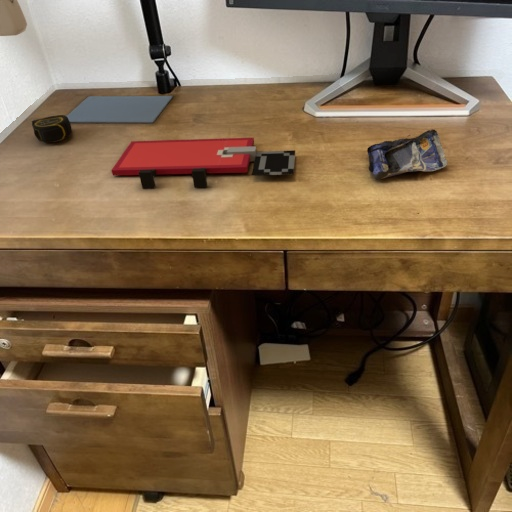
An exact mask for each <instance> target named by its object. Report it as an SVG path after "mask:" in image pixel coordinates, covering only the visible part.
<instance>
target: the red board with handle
mask: <svg viewBox="0 0 512 512" xmlns="http://www.w3.org/2000/svg"><path fill="white" fill-rule="evenodd" d="M254 145H255V137H226V138H195V139H167V140H166V139H163V140H162V139H161V140H133V141H131V142H130V143H129V144H128V146H127V147H126V148H125V150H124V151H123V153H122V154H121V155H120V157H119V159H118V160H117V162H116V163H115V164H114V166H113V167H112V169H111V170H110V171H111V174H112V176H138V177H139V180H140V184H141V188H142V189H143V190H144V189H155V187H156V182H155V176H157V175H184V174H185V175H190V174H191V176H192V183H193V187H194V188H196V189H197V188H207V187H208V181H207V174H228V173H229V174H235V173H236V174H237V173H238V174H240V173H243V174H244V173H248V170H249V165H250V163H252V162H253V167H252V171H251V176H277V175H278V176H281V175H283V176H285V175H286V176H287V175H294V173H295V161H296V160H295V159H296V150H295V149H294V150H260V151H257V150H258V149H257V146H254Z"/></svg>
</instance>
